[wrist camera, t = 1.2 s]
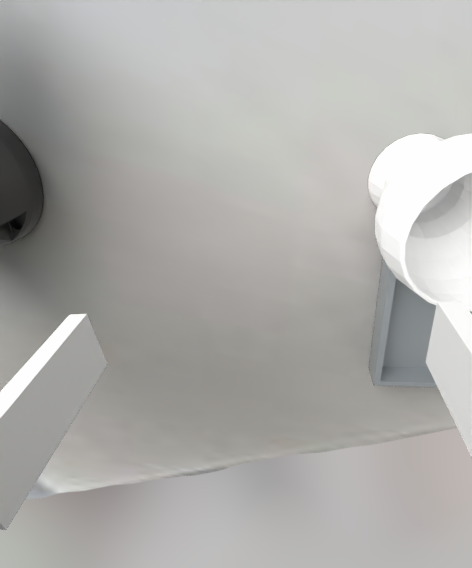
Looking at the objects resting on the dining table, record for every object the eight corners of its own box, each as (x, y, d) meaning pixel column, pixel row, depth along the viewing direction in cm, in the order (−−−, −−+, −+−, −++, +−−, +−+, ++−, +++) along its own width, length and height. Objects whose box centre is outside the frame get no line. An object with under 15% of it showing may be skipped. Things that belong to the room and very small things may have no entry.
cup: (359, 117, 31) (408, 148, 18) (491, 112, 29) (647, 140, 17) (346, 231, 36) (377, 316, 23) (457, 231, 35) (555, 322, 22)
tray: (368, 367, 45) (373, 385, 42) (382, 258, 37) (389, 272, 35) (502, 370, 42) (516, 389, 40) (546, 254, 35) (567, 269, 32)
